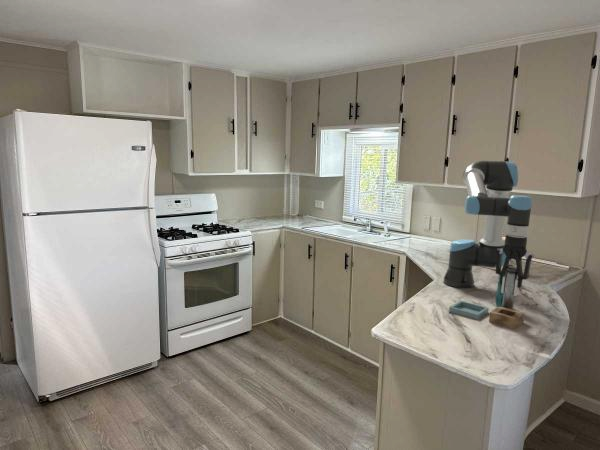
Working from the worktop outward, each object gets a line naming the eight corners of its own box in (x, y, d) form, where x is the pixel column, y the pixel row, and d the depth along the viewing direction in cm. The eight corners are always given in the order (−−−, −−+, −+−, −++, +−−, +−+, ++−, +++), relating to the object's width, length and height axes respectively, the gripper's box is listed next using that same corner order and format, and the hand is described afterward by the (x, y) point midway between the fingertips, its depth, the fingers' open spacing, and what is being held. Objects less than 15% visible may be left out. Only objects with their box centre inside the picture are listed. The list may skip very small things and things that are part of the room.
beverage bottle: (497, 304, 194) (501, 261, 190) (512, 308, 189) (518, 264, 186) (492, 308, 188) (497, 264, 185) (509, 312, 184) (514, 267, 181)
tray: (448, 313, 180) (449, 307, 179) (460, 307, 189) (460, 300, 188) (477, 321, 172) (478, 314, 171) (487, 314, 181) (488, 307, 180)
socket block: (488, 324, 170) (489, 312, 169) (497, 317, 177) (498, 306, 177) (515, 331, 163) (517, 319, 163) (523, 324, 171) (524, 312, 170)
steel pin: (499, 306, 169) (504, 267, 167) (503, 303, 173) (507, 265, 170) (512, 310, 166) (517, 270, 163) (515, 307, 170) (520, 267, 167)
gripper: (490, 233, 167) (483, 290, 172) (538, 240, 156) (530, 301, 160) (496, 231, 173) (490, 286, 177) (543, 238, 162) (535, 296, 166)
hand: (509, 293), depth 169 cm, fingers closed on steel pin, 4 cm apart
